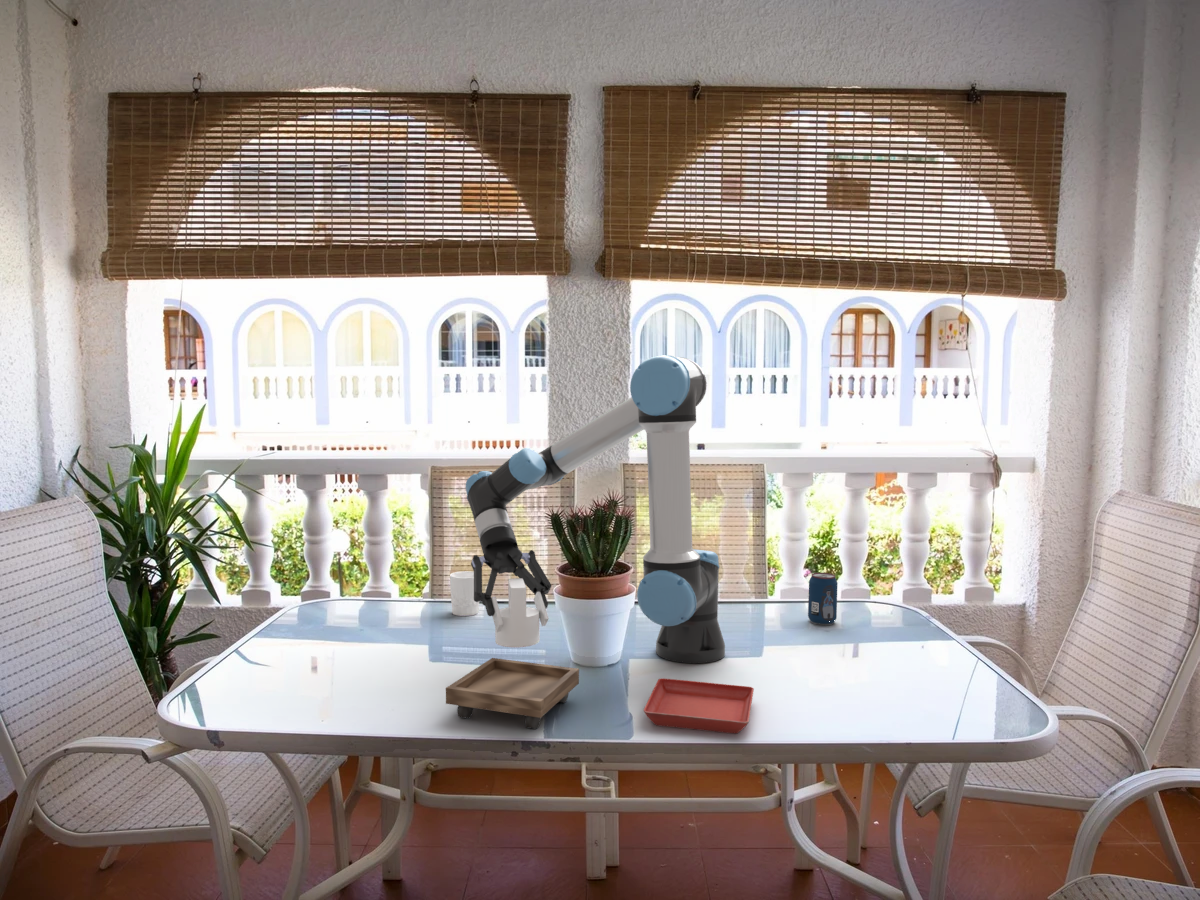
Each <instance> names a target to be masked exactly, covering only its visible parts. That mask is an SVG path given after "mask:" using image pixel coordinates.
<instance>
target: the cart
mask: <svg viewBox="0 0 1200 900" xmlns="http://www.w3.org/2000/svg"><path fill="white" fill-rule="evenodd" d="M579 684H580V668H575V667H568V666H561V665H551V664H544V663H537V662H536V663H535V662H528V661H519V660H512V659H505V658H504V659H503V658H497V657H496V658H495V657H492V658H489V659H488V660H486V661H485V662H484V663H482V664H480V665H479V666H477V667H476V668H474V669H473V670H471V671H469V672H468V673H467V674H465V675H464V676H462V677H461V678H459V679H457V680H456V681H454V682H453V683H451V684H450V685H448V686H447V687H445V705H451V706H452V705H453V706H457V712H456V713H457V716H458V718H463V719H470V718H471V717H472V715H473V712H474V709H480V710H487V711H492V712H493V711H494V712H500V713H507V714H513V715H518V716H519V715H520V716H525V717H524V724H525V727H526V728H529V729H534V730H536V729H538V728H539V727H540V724H541V720H542V719H541V718H543V716H545V714H547V713H548V712H549V711H551V709H552V708H553V707H554V706H556V705H557V704H558V703H562V704H565V703H566V702H567V700H568V698H569V693H570V692H571V691H572V690H573V689H574V688H575V687H577V686H578V685H579Z"/></svg>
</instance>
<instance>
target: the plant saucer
mask: <svg viewBox="0 0 1200 900" xmlns="http://www.w3.org/2000/svg"><path fill="white" fill-rule="evenodd" d="M653 687H654V688H653V689H652V691H651V693H650V695H649V697H648V700H647V702H646V704H645V706H644V708H643V713H644V714H645V715H646V717H647V718H648V719H649V720H650V721H651V722H652V723H653V724H654V725H655V726H659V727H666V728H667V727H668V728H669V727H670V728H677V729H678V728H680V729H689V730H698V731H708V732H715V733H716V732H717V733H728V734H739V733H741V731H742V730H743V729H744V728H745V727H746V726H747V725H748V724H749V722H750V716H751V710H752V703H753V696H754V690H755V688H754V687H752V686H745V685H734V684H727V683H726V684H724V683H714V682H706V681H705V682H704V681H695V680H694V681H693V680H684V679H673V678H665V677H664V678H661V677H660V678H658V680H657V681H656V683H655V685H654V686H653Z"/></svg>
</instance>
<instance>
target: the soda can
mask: <svg viewBox="0 0 1200 900" xmlns="http://www.w3.org/2000/svg"><path fill="white" fill-rule="evenodd" d="M807 601H808V604H807V606H808V607H807V617H808V619H809V621H810V622H811V623H812V624H814V625H820V626H831V625H834V623H835V621H836V620H837V617H838V614H837V613H838V609H837V608H838V581H837V578H836V575H835V574H833V573H831V572H830V573H829V572H813V573H811V577H810V578H809V580H808V599H807ZM834 620H835V621H834ZM829 621H830V622H829Z"/></svg>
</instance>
